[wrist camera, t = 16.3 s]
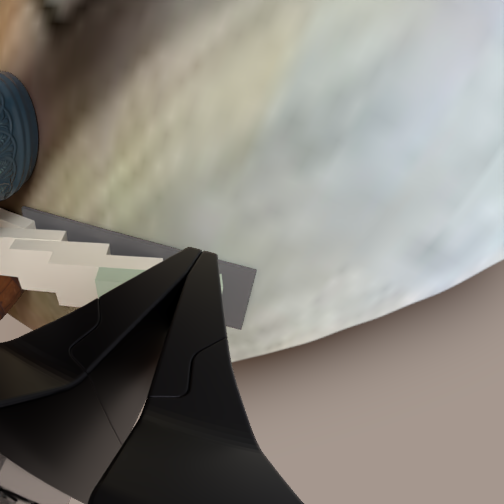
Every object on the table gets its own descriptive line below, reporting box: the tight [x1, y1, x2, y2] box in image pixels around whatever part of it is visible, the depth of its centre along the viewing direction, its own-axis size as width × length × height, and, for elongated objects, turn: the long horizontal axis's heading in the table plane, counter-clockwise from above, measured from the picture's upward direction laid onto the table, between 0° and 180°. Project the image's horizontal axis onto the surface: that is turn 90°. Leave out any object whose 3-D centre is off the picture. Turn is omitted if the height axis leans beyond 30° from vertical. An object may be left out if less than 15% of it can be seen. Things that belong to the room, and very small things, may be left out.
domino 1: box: [0, 208, 36, 229], centre depth 27 cm, size 5×2×10 cm
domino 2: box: [0, 227, 68, 277], centre depth 26 cm, size 5×2×10 cm
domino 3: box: [9, 239, 111, 293], centre depth 26 cm, size 5×2×10 cm
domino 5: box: [95, 267, 223, 299], centre depth 25 cm, size 5×2×10 cm
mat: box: [21, 206, 257, 330], centre depth 28 cm, size 7×24×1 cm, turn 79°
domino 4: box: [48, 252, 163, 307], centre depth 25 cm, size 5×2×10 cm
